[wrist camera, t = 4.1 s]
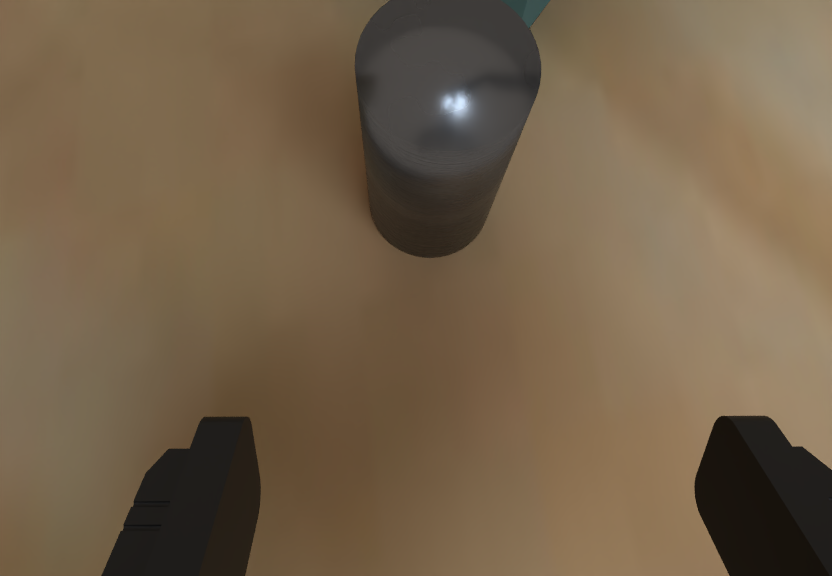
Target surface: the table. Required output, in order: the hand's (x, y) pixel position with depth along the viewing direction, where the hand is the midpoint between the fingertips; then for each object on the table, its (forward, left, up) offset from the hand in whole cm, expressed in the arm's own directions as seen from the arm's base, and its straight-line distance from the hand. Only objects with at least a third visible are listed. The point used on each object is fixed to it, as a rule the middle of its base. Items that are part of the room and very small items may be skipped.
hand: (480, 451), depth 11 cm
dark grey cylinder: (+6, -8, -14) cm, 17 cm away
